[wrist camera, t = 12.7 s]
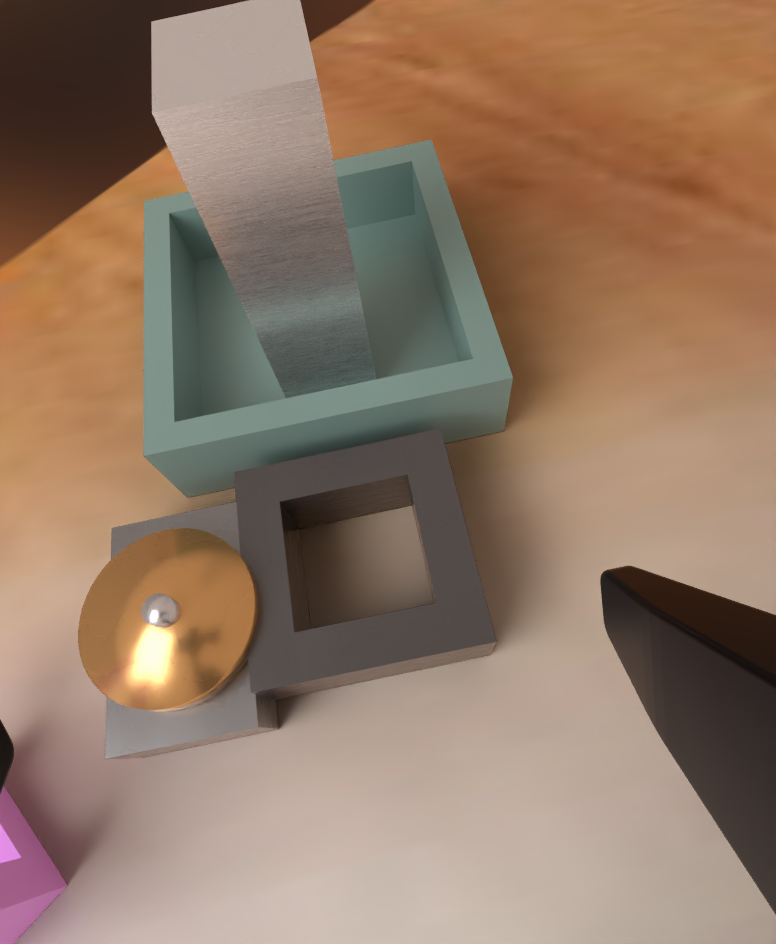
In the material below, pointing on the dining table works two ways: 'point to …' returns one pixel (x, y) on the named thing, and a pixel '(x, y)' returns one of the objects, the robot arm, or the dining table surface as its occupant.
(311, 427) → the tray
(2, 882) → the bracket
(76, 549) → the dining table surface
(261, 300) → the pin
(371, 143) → the dining table surface
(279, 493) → the tensioner bracket
